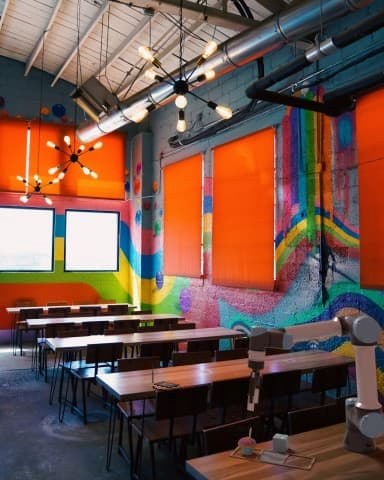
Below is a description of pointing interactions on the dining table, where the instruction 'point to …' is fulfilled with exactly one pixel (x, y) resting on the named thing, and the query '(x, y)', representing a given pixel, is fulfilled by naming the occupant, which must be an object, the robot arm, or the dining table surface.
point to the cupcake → (247, 445)
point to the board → (274, 458)
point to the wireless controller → (163, 382)
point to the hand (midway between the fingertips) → (252, 406)
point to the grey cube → (280, 443)
